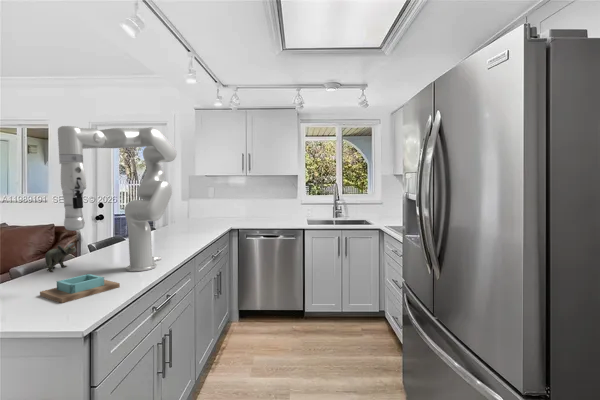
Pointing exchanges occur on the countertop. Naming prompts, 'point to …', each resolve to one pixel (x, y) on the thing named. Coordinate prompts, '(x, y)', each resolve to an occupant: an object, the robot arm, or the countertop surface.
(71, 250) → the dinosaur figurine
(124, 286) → the countertop surface
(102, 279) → the walnut jig board
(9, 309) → the countertop surface
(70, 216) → the silver aluminum bottle
